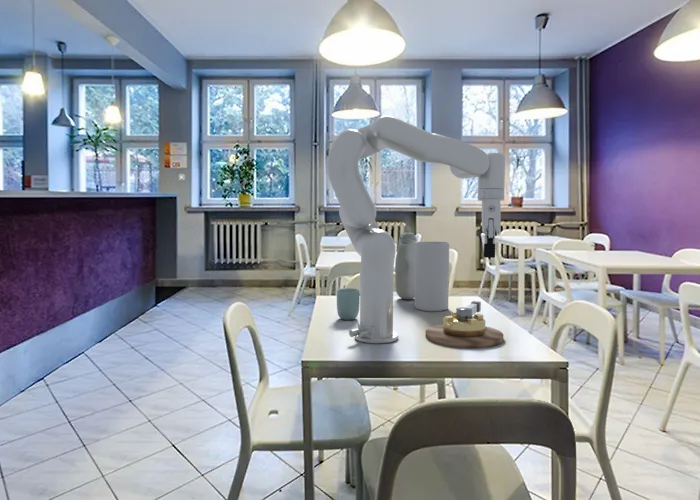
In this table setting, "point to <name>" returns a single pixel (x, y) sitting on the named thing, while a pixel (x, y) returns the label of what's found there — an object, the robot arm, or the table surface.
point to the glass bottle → (405, 266)
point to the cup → (348, 303)
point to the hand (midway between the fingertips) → (489, 257)
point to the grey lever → (465, 321)
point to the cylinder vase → (431, 275)
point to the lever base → (464, 338)
